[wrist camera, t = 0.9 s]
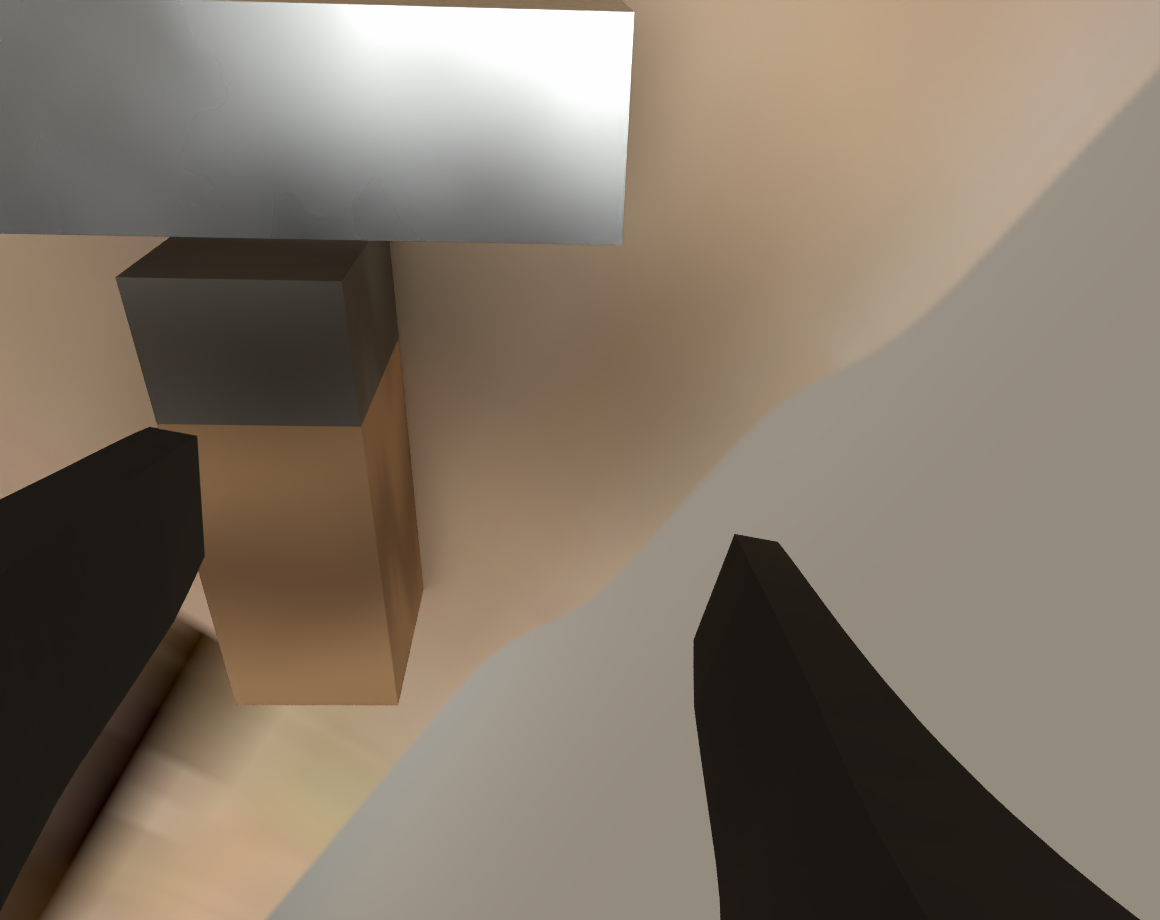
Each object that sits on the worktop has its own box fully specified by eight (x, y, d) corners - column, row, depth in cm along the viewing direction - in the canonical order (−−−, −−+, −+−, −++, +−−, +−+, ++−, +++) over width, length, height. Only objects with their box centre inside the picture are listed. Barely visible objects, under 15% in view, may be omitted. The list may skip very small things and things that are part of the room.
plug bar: (423, 588, 24) (398, 705, 21) (286, 587, 24) (236, 704, 20) (386, 214, 18) (342, 281, 15) (206, 210, 18) (115, 277, 15)
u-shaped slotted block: (602, 149, 18) (621, 245, 12) (-40, 134, 17) (-339, 227, 12) (608, -11, 16) (634, 11, 10) (-98, -31, 16) (-478, -19, 10)
